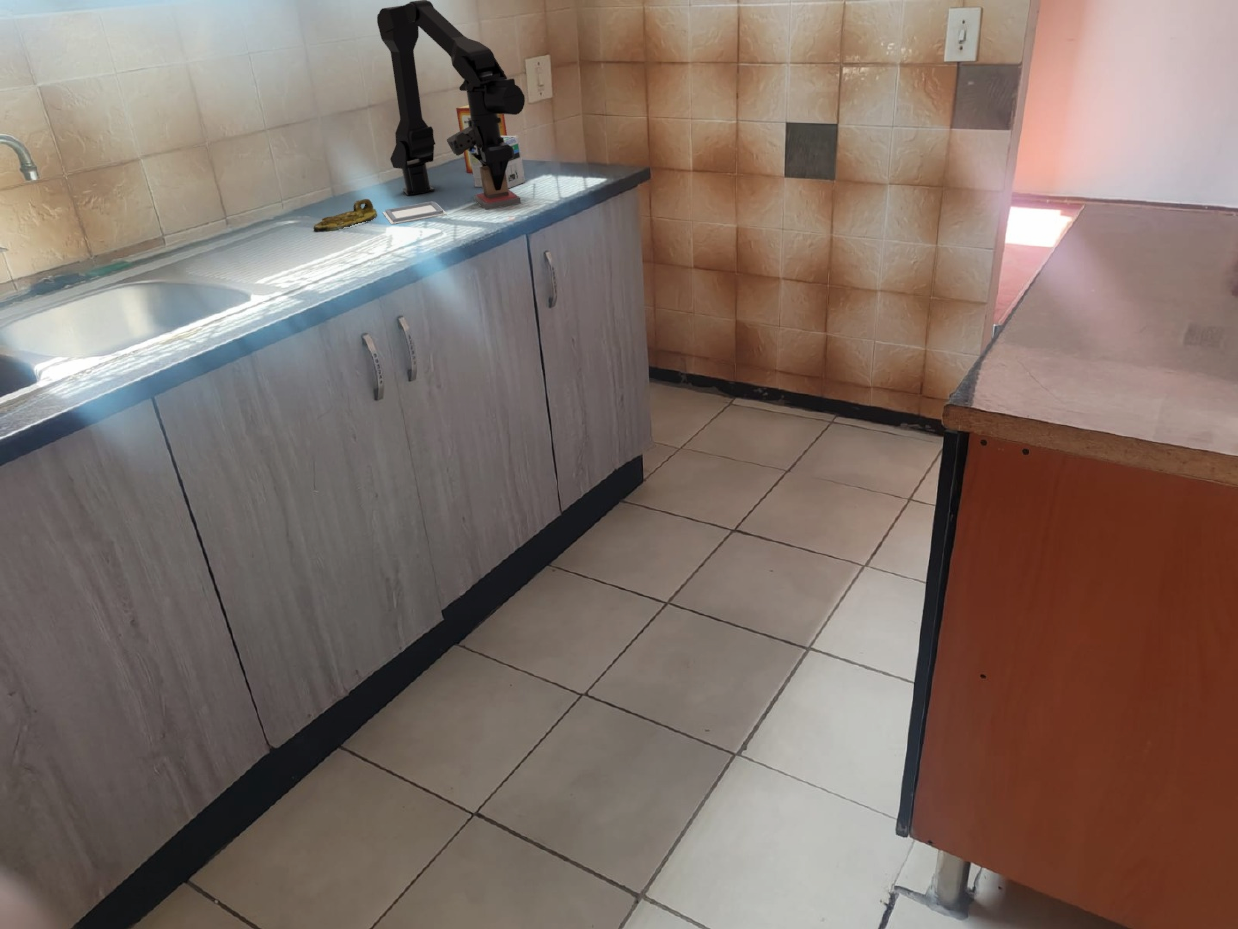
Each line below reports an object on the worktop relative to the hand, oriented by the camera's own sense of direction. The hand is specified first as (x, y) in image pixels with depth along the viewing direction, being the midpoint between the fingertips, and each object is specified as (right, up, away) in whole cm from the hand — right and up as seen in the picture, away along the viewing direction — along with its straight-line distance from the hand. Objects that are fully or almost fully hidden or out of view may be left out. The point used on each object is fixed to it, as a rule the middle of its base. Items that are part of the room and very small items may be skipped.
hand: (495, 188), depth 203 cm
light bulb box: (-1, +6, +17) cm, 18 cm away
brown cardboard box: (0, -1, +1) cm, 2 cm away
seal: (-32, -9, -2) cm, 33 cm away
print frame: (-17, -6, -1) cm, 18 cm away
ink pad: (0, -3, +1) cm, 3 cm away
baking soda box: (-6, +14, +33) cm, 36 cm away
